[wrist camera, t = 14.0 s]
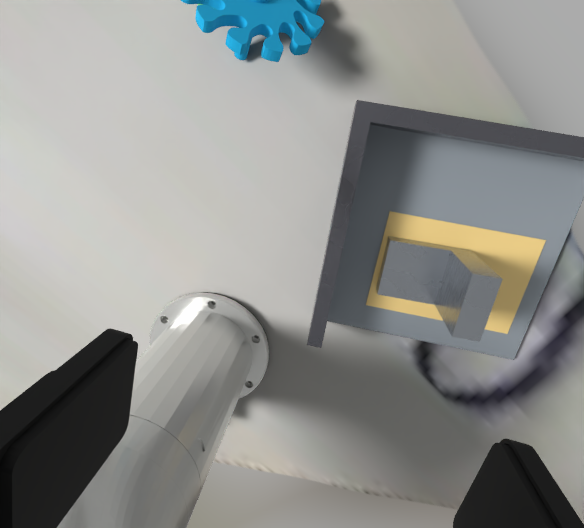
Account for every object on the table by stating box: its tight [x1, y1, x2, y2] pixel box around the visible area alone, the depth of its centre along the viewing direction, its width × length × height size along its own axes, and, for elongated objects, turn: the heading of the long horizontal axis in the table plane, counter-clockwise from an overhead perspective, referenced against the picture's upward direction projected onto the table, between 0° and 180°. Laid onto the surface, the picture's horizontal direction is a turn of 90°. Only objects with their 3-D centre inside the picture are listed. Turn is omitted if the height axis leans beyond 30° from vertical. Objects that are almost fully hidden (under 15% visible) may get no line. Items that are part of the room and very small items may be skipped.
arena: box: [307, 100, 584, 360], centre depth 30 cm, size 19×19×6 cm
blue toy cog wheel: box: [181, 0, 325, 62], centre depth 27 cm, size 11×6×10 cm
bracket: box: [376, 236, 503, 342], centre depth 30 cm, size 7×5×7 cm
